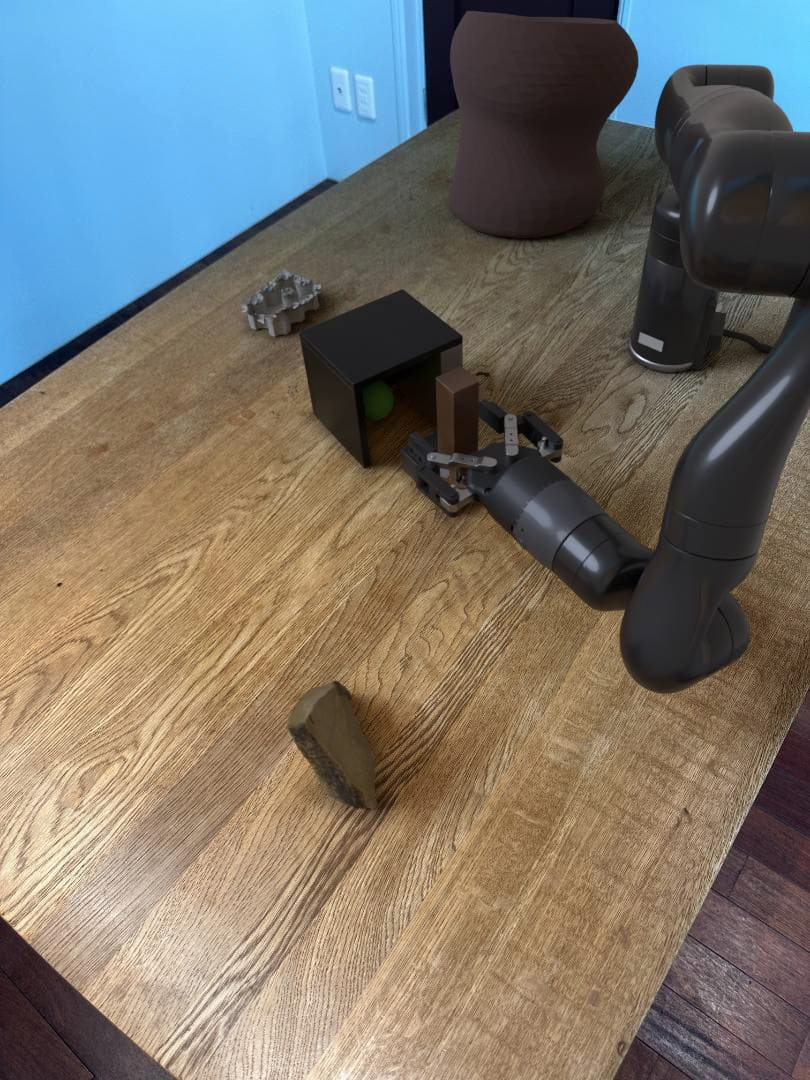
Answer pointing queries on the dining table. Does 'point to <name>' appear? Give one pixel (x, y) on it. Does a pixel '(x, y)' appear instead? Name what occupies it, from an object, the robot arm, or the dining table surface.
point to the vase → (534, 118)
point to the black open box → (376, 362)
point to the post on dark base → (452, 419)
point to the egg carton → (281, 303)
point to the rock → (334, 744)
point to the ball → (377, 400)
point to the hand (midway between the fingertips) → (446, 422)
